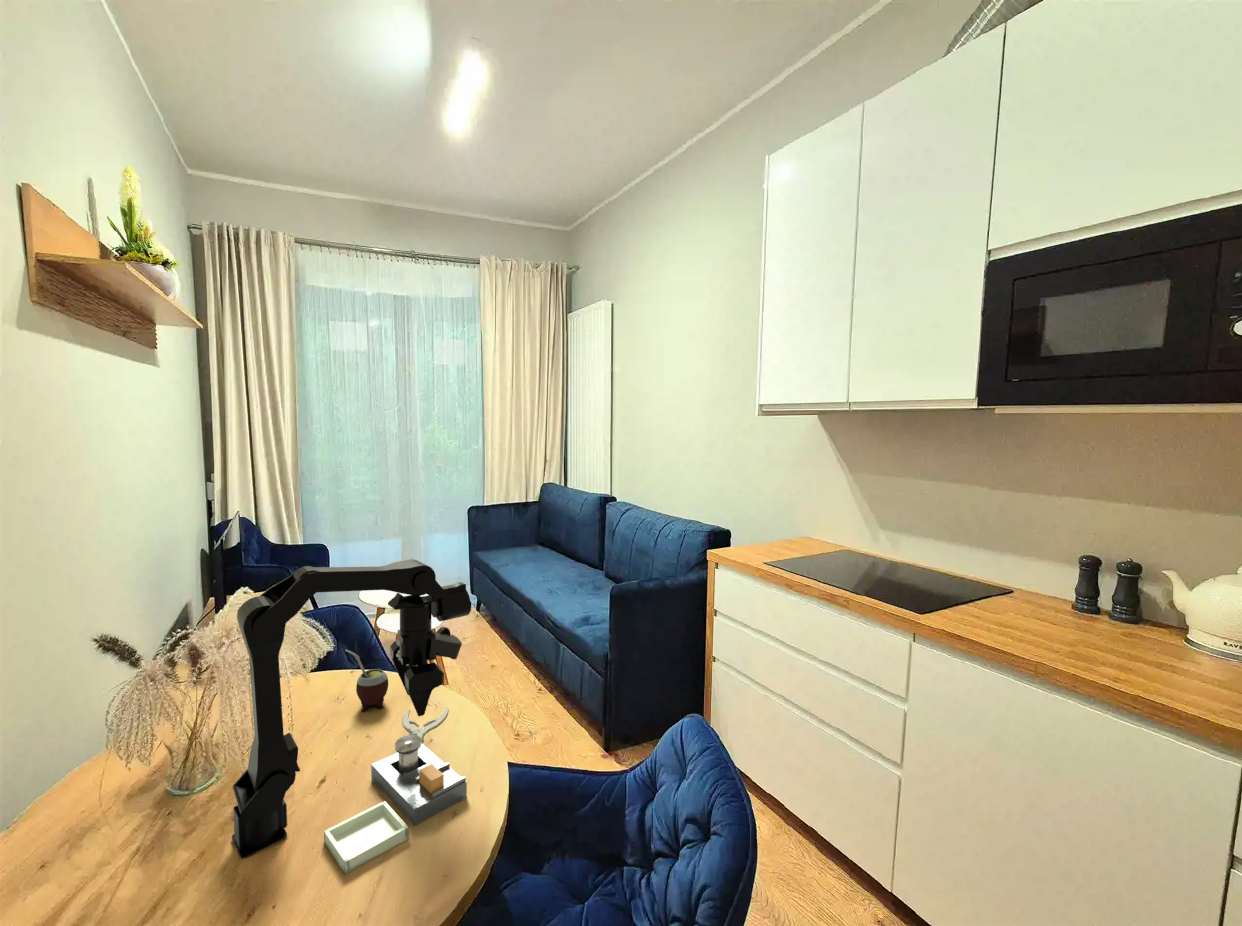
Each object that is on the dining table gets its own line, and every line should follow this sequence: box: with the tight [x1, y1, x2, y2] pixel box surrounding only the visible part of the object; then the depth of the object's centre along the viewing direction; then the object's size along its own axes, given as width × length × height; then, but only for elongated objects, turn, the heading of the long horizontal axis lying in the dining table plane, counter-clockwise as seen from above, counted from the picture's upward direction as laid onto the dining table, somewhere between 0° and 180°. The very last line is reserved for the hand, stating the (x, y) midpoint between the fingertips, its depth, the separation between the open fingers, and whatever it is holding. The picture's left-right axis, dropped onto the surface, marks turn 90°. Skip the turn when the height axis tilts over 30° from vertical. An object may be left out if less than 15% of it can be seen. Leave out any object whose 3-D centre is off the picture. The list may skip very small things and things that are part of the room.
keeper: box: [419, 764, 444, 793], centre depth 99 cm, size 2×4×2 cm, turn 47°
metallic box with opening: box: [370, 743, 468, 826], centre depth 103 cm, size 10×18×4 cm, turn 47°
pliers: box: [402, 707, 449, 744], centre depth 123 cm, size 10×2×15 cm
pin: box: [394, 734, 421, 776], centre depth 106 cm, size 5×5×8 cm
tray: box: [323, 800, 410, 875], centre depth 90 cm, size 10×9×2 cm
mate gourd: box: [344, 649, 389, 713], centre depth 131 cm, size 8×8×15 cm
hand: (415, 704), depth 107 cm, fingers open, 9 cm apart
